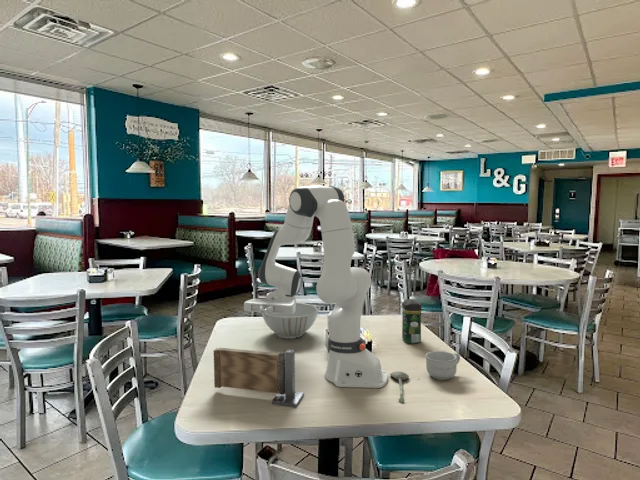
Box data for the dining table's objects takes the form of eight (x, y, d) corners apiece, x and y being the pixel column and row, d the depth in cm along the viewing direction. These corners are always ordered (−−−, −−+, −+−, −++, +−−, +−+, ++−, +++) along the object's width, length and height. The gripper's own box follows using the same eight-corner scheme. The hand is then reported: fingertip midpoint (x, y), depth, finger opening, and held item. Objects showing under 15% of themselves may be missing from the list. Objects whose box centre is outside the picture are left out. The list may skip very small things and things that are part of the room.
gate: (286, 393, 133) (285, 352, 132) (284, 395, 131) (283, 354, 130) (217, 384, 139) (216, 346, 138) (214, 387, 137) (213, 348, 136)
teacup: (435, 384, 143) (435, 362, 142) (419, 372, 153) (420, 351, 152) (470, 380, 146) (471, 358, 146) (452, 368, 157) (453, 347, 156)
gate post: (303, 395, 135) (303, 347, 133) (296, 407, 127) (295, 356, 126) (280, 392, 137) (280, 345, 135) (271, 404, 129) (271, 354, 128)
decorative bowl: (298, 348, 179) (298, 320, 177) (249, 337, 192) (249, 312, 191) (328, 331, 202) (328, 306, 201) (283, 323, 215) (283, 300, 214)
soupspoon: (408, 377, 152) (390, 376, 153) (408, 368, 152) (389, 367, 153) (411, 403, 130) (390, 403, 131) (411, 393, 130) (390, 392, 131)
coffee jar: (400, 337, 193) (400, 297, 191) (417, 337, 193) (418, 297, 191) (404, 344, 183) (405, 303, 181) (422, 344, 183) (423, 303, 181)
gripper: (251, 293, 170) (236, 301, 157) (299, 296, 165) (288, 305, 152) (251, 308, 171) (237, 317, 157) (299, 312, 166) (288, 321, 152)
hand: (262, 311), depth 155 cm, fingers closed
